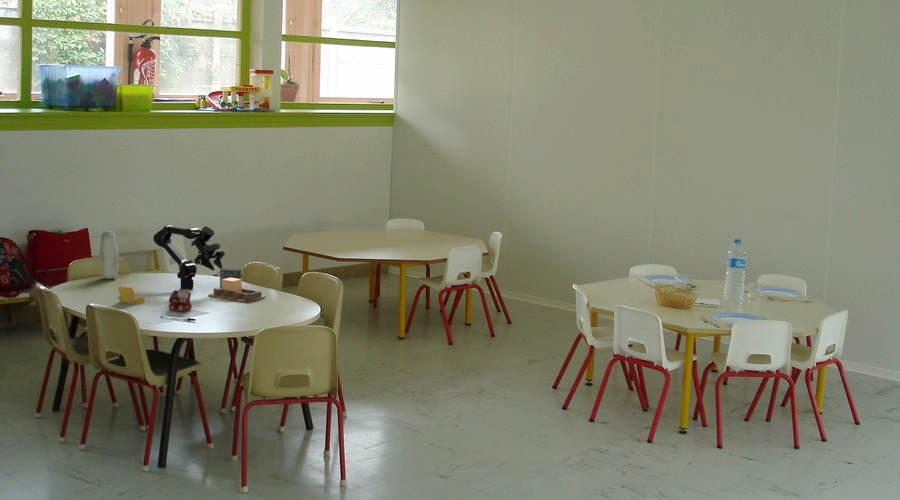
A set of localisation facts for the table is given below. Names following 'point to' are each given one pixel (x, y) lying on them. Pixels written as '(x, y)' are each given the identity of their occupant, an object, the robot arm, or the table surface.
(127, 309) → the table surface
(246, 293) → the tray
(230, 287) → the slider block
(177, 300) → the toy fire truck
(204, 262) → the robot arm
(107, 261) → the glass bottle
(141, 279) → the table surface
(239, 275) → the small box
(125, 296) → the yellow l-shaped block
